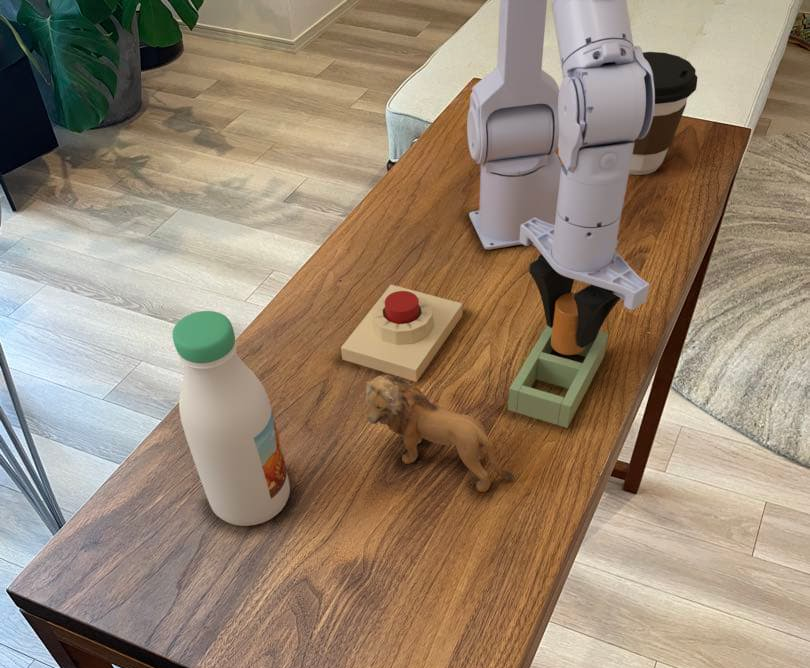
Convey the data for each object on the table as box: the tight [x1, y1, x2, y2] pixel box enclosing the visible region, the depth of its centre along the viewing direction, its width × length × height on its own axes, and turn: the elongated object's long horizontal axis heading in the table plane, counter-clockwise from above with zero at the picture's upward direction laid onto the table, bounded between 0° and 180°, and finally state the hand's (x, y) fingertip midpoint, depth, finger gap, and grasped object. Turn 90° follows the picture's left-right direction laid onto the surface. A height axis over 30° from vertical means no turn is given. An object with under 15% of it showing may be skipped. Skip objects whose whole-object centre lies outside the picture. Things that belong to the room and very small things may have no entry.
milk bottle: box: [172, 310, 291, 527], centre depth 71 cm, size 8×8×20 cm
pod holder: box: [507, 325, 609, 429], centre depth 86 cm, size 6×12×3 cm, turn 154°
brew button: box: [385, 291, 419, 324], centre depth 89 cm, size 4×4×2 cm
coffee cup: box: [629, 51, 698, 176], centre depth 107 cm, size 11×11×12 cm
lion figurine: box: [363, 374, 515, 493], centre depth 77 cm, size 15×5×9 cm, turn 69°
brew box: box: [340, 284, 464, 383], centre depth 91 cm, size 12×9×4 cm
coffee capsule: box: [551, 292, 586, 356], centre depth 84 cm, size 4×4×5 cm
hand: (570, 332), depth 85 cm, fingers closed on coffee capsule, 4 cm apart
